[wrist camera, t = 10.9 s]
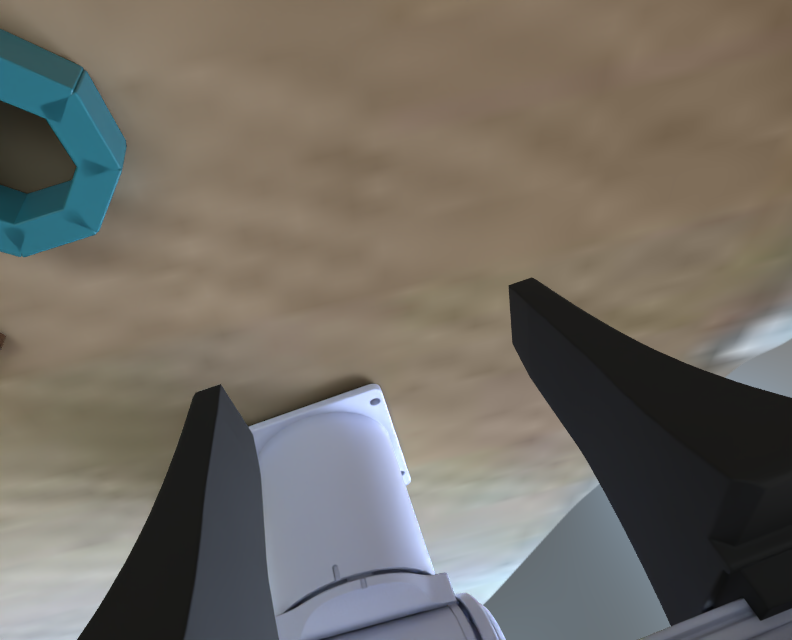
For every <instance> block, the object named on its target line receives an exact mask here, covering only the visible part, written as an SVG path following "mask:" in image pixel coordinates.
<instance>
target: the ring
mask: <svg viewBox="0 0 792 640" xmlns="http://www.w3.org/2000/svg"><path fill="white" fill-rule="evenodd" d="M0 100H1V101H3V102H6V103H8V104H11V105H13V106H16V107H18V108H20V109H23V110H25V111H28V112H30V113H33V114H35V115H38V116H40V117H43V118H45V119H46V120H47V122H48V124H49V125H50V127H51V128H52V130H53V131H54V133H55V134H56V136H57V137H58V139H59V141H60V142H61V144H62V145H63V147H64V148H65V150H66V151H67V153H68V154H69V156H70V157H71V159H72V161H73V162H74V164H75V165H76V170H75V173H74V176H73V178H72V180H70V181H67V182H64V183H61V184H58V185H54V186H51V187H48V188H45V189H41V190H38V191H35V192H32V193H29V194H26V193H23V192H20V191H17V190H14V189H12V188H9V187H6V186H3V185H0V251H1V252H4V253H8V254H11V255H15V256H18V257H21V256H23V257H27V256H30V255H33V254H36V253H39V252H42V251H46V250H49V249H52V248H55V247H58V246H61V245H64V244H68V243H71V242H74V241H77V240H80V239H83V238H86V237H89V236H93V235H95V234H96V233H97V232H99V230H100V227H101V225H102V222H103V219H104V217H105V214H106V211H107V209H108V206H109V204H110V201H111V198H112V196H113V193H114V190H115V188H116V185H117V183H118V180H119V177H120V175H121V172H122V167H123V162H124V157H125V152H126V147H127V146H126V140H125V138H124V137H123V135H122V133H121V131H120V130H119V128H118V126H117V124H116V122H115V121H114V119H113V117H112V115H111V114H110V112H109V110H108V108H107V106H106V105H105V103H104V101H103V99H102V98H101V96H100V94H99V92H98V90H97V89H96V87H95V85H94V83H93V82H92V80H91V78H90V76H89V74H88V73H87V71H86V70H83V67H81V66H79V65H77V64H75V63H73V62H71V61H69V60H66V59H64V58H62V57H60V56H58V55H56V54H54V53H51V52H49V51H47V50H45V49H43V48H41V47H38V46H36V45H34V44H32V43H30V42H28V41H26V40H23V39H21V38H19V37H17V36H15V35H13V34H11V33H8V32H6V31H4V30H2V29H0Z"/></svg>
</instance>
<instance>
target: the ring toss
mask: <svg viewBox="0 0 792 640" xmlns="http://www.w3.org/2000/svg"><path fill="white" fill-rule="evenodd" d="M5 337H6V336H5V335H4V334H2V333H0V350H1V348H2V346H3V343H4V340H5Z"/></svg>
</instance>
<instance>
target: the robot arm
mask: <svg viewBox="0 0 792 640" xmlns="http://www.w3.org/2000/svg"><path fill="white" fill-rule="evenodd" d="M509 299H510V313H511V328H512V343H513V345H514V347H515V349H516V351H517V353H518V355H519V357H520V359H521V361H522V363H523V365H524V367H525V369H526V370H527V372H528V374H529V376H530V378H531V379H532V381H533V382H534V384H535V385H536V387H537V388H538V390H539V391H540V392H541V394H542V395H543V397H544V398H545V400H546V401H547V403H548V404H549V405H550V407H551V408H552V410H553V411H554V413H555V414H556V416H557V417H558V418H559V420H560V421H561V423H562V424H563V426H564V427H565V428H566V430H567V431H568V433H569V434H570V436H571V437H572V438H573V440H574V441H575V443H576V444H577V446H578V447H579V449H580V450H581V452H582V454H583V455H584V457H585V458H586V460H587V461H588V463H589V465H590V467H591V469H592V470H593V472H594V474H595V476H596V478H597V479H598V481H599V483H600V485H601V487H602V488H603V490H604V492H605V494H606V496H607V497H608V500H609V501H610V503H611V505H612V507H613V509H614V511H615V513H616V515H617V516H618V518H619V520H620V522H621V524H622V526H623V528H624V530H625V531H626V534H627V536H628V538H629V540H630V542H631V544H632V545H633V548H634V550H635V551H636V554H637V556H638V558H639V560H640V562H641V564H642V565H643V568H644V570H645V572H646V574H647V576H648V578H649V580H650V582H651V584H652V586H653V589H654V591H655V593H656V595H657V597H658V599H659V601H660V603H661V605H662V608H663V610H664V612H665V614H666V616H667V618H668V621H669V623H670V625H671V627H668V628H666V629H663V630H661V631H658V632H656V633H653V634H651V635H648V636H646V637H643V638H641V639H639V640H792V398H790V397H786V396H783V395H779V394H776V393H772V392H769V391H765V390H762V389H758V388H754V387H751V386H748V385H745V384H742V383H738V382H735V381H733V380H730V379H727V378H724V377H721V376H718V375H716V374H713V373H710V372H707V371H704V370H702V369H699V368H696V367H694V366H691V365H689V364H686V363H684V362H681V361H679V360H677V359H675V358H672V357H670V356H668V355H665V354H663V353H661V352H659V351H656V350H654V349H652V348H650V347H648V346H646V345H644V344H642V343H640V342H638V341H636V340H634V339H632V338H631V337H629V336H627V335H625V334H623V333H621V332H619V331H618V330H616V329H614V328H612V327H610V326H609V325H607V324H605V323H604V322H602V321H600V320H598V319H597V318H595V317H593V316H592V315H590V314H588V313H587V312H585V311H583V310H582V309H580V308H579V307H577V306H575V305H574V304H572V303H571V302H569V301H568V300H566V299H565V298H563V297H561V296H560V295H558V294H557V293H555V292H554V291H552V290H551V289H549V288H548V287H546V286H545V285H543V284H542V283H540V282H539V281H537V280H536V279H534V278H529V279H526V280H523V281H520V282H517V283H514V284H511V285H509ZM374 398H376V399H374ZM372 399H373V400H372ZM410 481H411V478H410V475H409V472H408V469H407V466H406V463H405V460H404V457H403V454H402V451H401V448H400V445H399V442H398V439H397V436H396V433H395V430H394V427H393V424H392V421H391V418H390V415H389V412H388V409H387V406H386V403H385V400H384V397H383V394H382V391H381V388H380V386H379V385H377V384H368V385H366V386H363V387H360V388H357V389H354V390H351V391H348V392H346V393H343V394H340V395H337V396H334V397H331V398H328V399H326V400H323V401H320V402H317V403H314V404H311V405H308V406H306V407H303V408H300V409H297V410H294V411H291V412H288V413H286V414H283V415H280V416H277V417H274V418H271V419H268V420H266V421H263V422H260V423H257V424H254V425H251V426H247V424H246V423H245V421H244V420H243V418H242V416H241V415H240V413H239V412H238V410H237V409H236V407H235V406H234V404H233V402H232V401H231V399H230V398H229V396H228V395H227V393H226V391H225V390H224V388H223V387H222V385H221V384H220V385H217V386H214V387H211V388H208V389H205V390H202V391H199V392H196V393H195V395H194V396H193V399H192V402H191V405H190V408H189V411H188V415H187V418H186V421H185V424H184V427H183V430H182V433H181V436H180V439H179V442H178V445H177V447H176V450H175V453H174V455H173V458H172V461H171V463H170V466H169V469H168V471H167V474H166V477H165V479H164V482H163V484H162V487H161V489H160V491H159V493H158V496H157V498H156V500H155V503H154V505H153V507H152V510H151V512H150V514H149V516H148V519H147V521H146V523H145V525H144V527H143V529H142V531H141V533H140V535H139V537H138V539H137V541H136V543H135V545H134V547H133V549H132V551H131V553H130V554H129V556H128V558H127V560H126V562H125V564H124V566H123V567H122V569H121V571H120V572H119V574H118V576H117V578H116V579H115V581H114V583H113V584H112V586H111V588H110V590H109V591H108V593H107V595H106V596H105V598H104V600H103V601H102V603H101V604H100V606H99V608H98V609H97V611H96V612H95V614H94V615H93V617H92V618H91V620H90V621H89V623H88V624H87V626H86V627H85V629H84V630H83V632H82V633H81V635H80V636H79V638H78V639H77V640H506V639H505V637H504V635H503V633H502V631H501V629H500V627H499V625H498V623H497V622H496V620H495V618H494V617H493V616H492V614H491V613H490V612H489V610H488V609H487V608H485V607H484V606H483V605H482V604H480V603H479V602H478V601H477V600H476V599H475V598H474V597H473V596H471V595H470V594H468V593H460V594H456V595H455V594H454V591H453V588H452V586H451V583H450V580H449V577H448V574H447V573H440V574H435V572H434V569H433V566H432V563H431V560H430V557H429V554H428V551H427V548H426V545H425V542H424V539H423V536H422V533H421V530H420V527H419V524H418V521H417V518H416V515H415V512H414V509H413V506H412V503H411V500H410V498H409V495H408V492H407V489H406V485H408V484H409V483H410Z"/></svg>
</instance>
